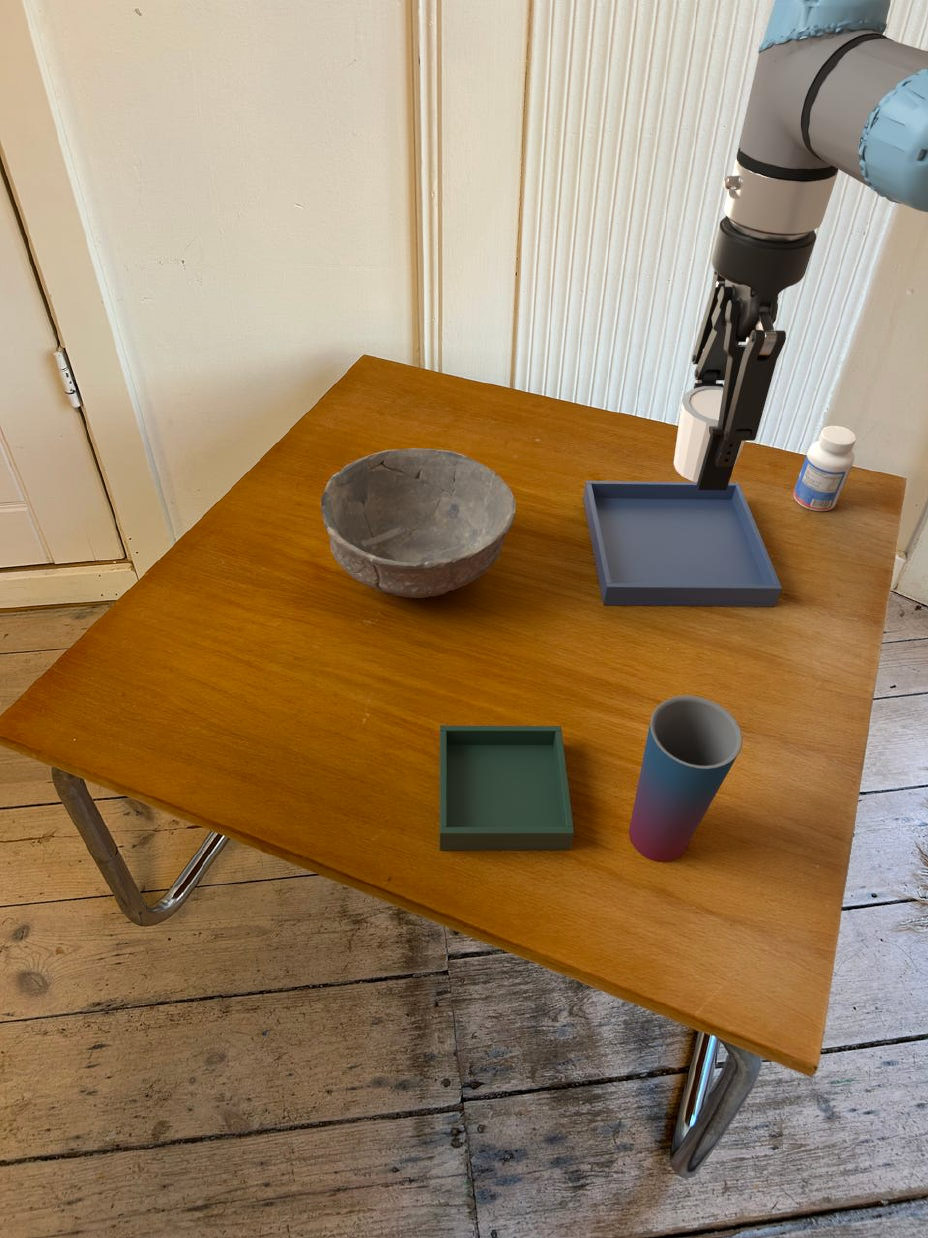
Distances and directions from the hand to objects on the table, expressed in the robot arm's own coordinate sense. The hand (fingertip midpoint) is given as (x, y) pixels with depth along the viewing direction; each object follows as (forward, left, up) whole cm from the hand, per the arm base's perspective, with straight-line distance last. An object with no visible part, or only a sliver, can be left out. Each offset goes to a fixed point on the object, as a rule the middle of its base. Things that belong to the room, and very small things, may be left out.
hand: (702, 464), depth 84 cm
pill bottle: (+18, -22, -18) cm, 33 cm away
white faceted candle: (0, 0, -1) cm, 1 cm away
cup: (-31, +7, -18) cm, 36 cm away
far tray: (+8, -2, -18) cm, 19 cm away
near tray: (-26, +20, -18) cm, 37 cm away
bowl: (+4, +28, -18) cm, 33 cm away
